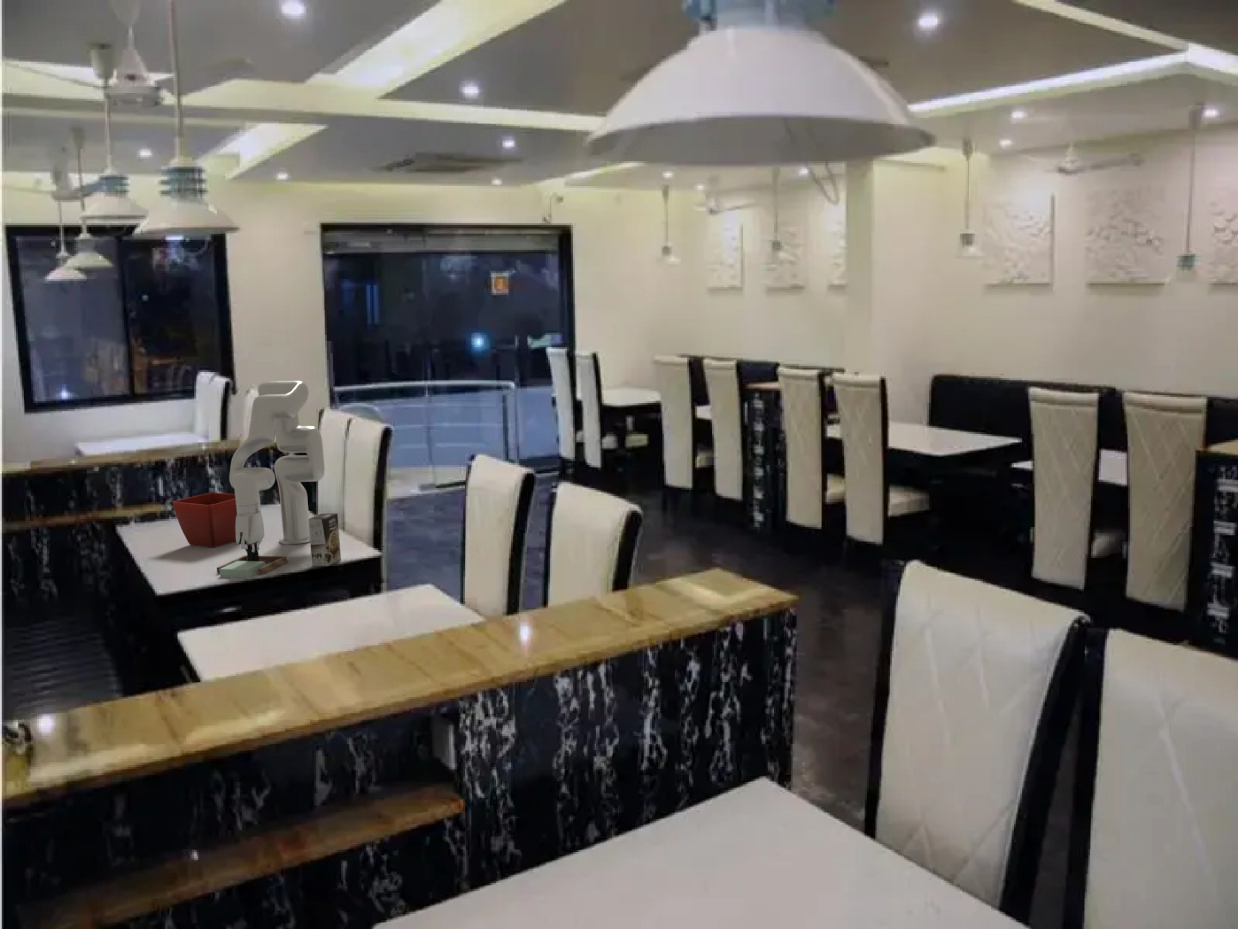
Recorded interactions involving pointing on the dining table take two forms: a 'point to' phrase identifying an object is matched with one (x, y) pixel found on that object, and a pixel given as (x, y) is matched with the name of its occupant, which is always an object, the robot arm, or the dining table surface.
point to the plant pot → (207, 519)
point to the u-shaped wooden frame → (274, 559)
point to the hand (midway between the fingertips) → (253, 563)
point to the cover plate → (241, 569)
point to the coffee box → (324, 539)
